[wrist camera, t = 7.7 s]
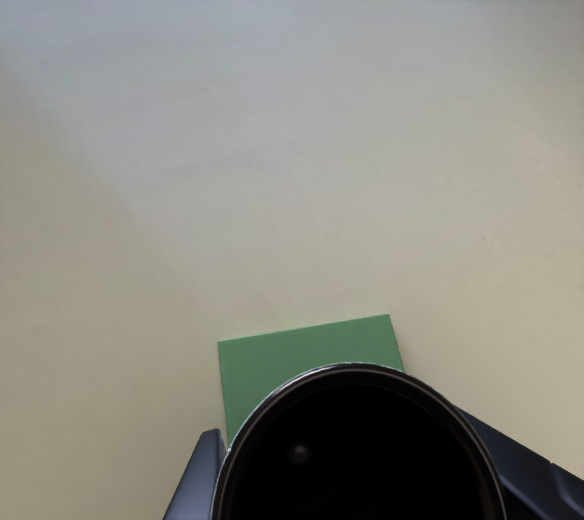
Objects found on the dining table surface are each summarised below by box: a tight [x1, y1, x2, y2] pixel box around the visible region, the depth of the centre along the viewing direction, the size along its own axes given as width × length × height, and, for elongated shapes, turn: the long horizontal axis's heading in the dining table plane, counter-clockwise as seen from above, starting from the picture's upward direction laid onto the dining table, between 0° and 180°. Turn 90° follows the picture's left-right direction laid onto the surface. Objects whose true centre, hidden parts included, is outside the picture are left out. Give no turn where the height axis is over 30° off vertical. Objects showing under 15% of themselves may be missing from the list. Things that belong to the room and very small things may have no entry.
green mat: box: [218, 314, 405, 447], centre depth 20 cm, size 10×10×1 cm
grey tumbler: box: [210, 362, 512, 520], centre depth 10 cm, size 4×4×10 cm
